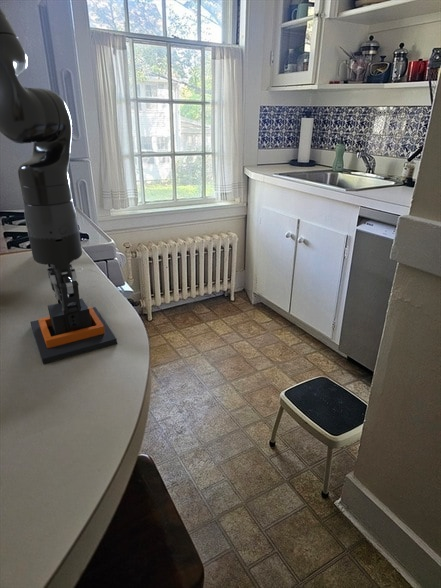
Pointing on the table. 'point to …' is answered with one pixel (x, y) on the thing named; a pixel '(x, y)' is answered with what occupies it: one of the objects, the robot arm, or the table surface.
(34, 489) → the table surface
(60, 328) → the dark gray block
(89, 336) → the base pad
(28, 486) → the table surface
